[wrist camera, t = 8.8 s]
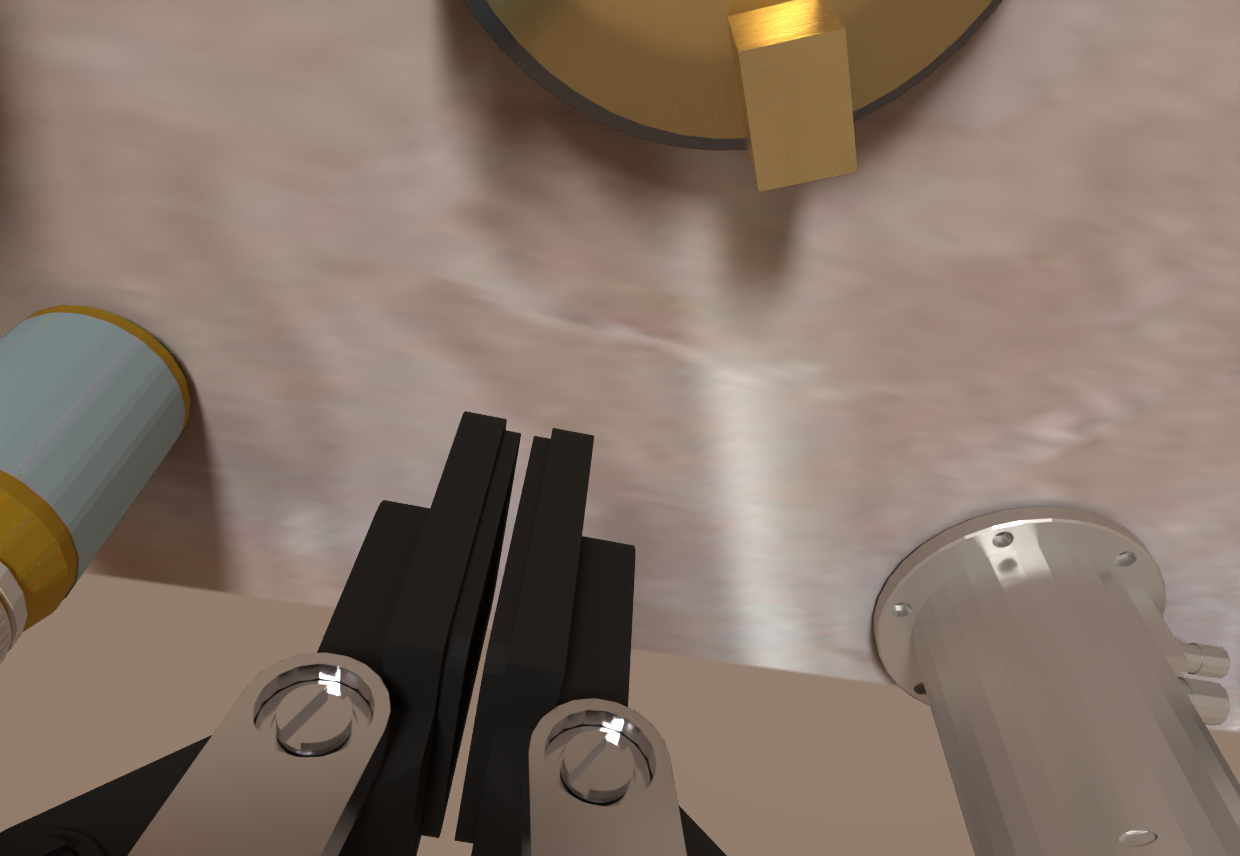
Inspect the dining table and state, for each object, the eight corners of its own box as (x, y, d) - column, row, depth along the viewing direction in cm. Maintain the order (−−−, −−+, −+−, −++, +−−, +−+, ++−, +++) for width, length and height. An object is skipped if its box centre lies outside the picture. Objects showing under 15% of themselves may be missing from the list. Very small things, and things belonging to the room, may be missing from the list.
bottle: (154, 474, 41) (-59, 777, 29) (-9, 385, 39) (-318, 674, 26) (226, 366, 38) (21, 655, 26) (53, 262, 36) (-265, 525, 23)
